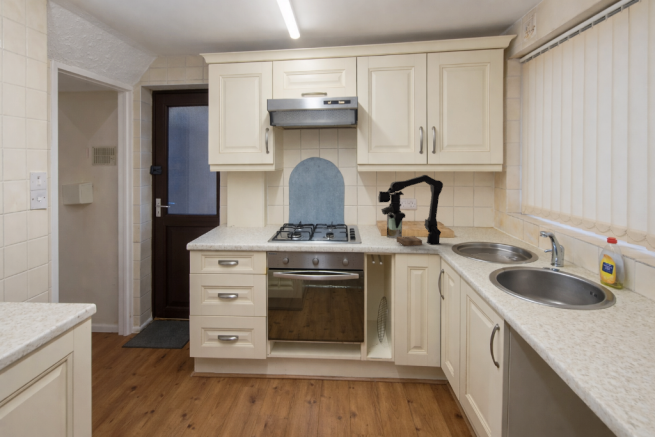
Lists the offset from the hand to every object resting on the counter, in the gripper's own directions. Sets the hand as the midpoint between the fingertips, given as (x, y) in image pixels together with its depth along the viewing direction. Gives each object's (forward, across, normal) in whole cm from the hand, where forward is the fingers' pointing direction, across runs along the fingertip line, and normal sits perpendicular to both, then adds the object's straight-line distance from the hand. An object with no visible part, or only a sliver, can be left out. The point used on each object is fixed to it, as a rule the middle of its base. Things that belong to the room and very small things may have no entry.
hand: (395, 227), depth 222 cm
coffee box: (+11, -19, +6) cm, 23 cm away
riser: (+11, 0, +10) cm, 14 cm away
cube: (+1, 0, 0) cm, 1 cm away
